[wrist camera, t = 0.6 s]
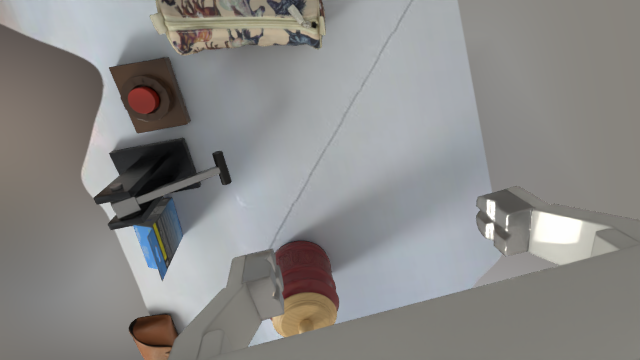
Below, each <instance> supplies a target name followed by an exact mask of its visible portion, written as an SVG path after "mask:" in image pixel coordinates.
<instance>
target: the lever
mask: <svg viewBox="0 0 640 360" xmlns="http://www.w3.org/2000/svg"><path fill="white" fill-rule="evenodd" d="M212 155H213V158H214V161H215V164H216V166H215V167H212V168H209V169H207V170H204V171H201V172H198V173H196V174H193V175H190V176H188V177H185V178H182V179H179V180H177V181H174V182H171V183H169V184H166V185H163V186H161V187H158V188H155V189H152V190H150V191H147V192H144V193H142V194H139V195H136V196H134V195H133V196H132V197H131V198H128V199H123V200H118V201H113V202H110V203H111V206H112V208H113V210H114V212H115V214H116V215H117V217H118V219H119V218H121V217H124V216H127V215H129V214H132V213H134V212H137V211H139V210H141V209H140V207H139V205H138V204H142V203H144V202H147V201H150V200H152V199H155V198H157V197H160V196H163V195H165V194H168V193H170V192H173V191H176V190H178V189H181V188H183V187H186V186H189V185H191V184H194V183H197V182H199V181H202V180H204V179H207V178H210V177H212V176H215V175H217V174H219V176H220V179H221V182H222V184H223V185H227V184H230V183H231V182H232V181H231V178H230V174H229V171H228V168H227V165H226V162H225V158H224V155H223V152H222V151H217V152H214V153H213V154H212Z"/></svg>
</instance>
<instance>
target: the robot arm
mask: <svg viewBox="0 0 640 360" xmlns="http://www.w3.org/2000/svg"><path fill="white" fill-rule="evenodd" d="M476 206H477V207H478V208H479V209H480V211H479V212H478V214H477V215H476V223H477V226H478V229H479V231H480V232H481V234H482V235H483V236H484V237H485V238H486V239H489V240H492V241H494V246H495V247H496V248H497V249H498V250H499V251H500V252H501V253H502V254H503V255H504V256H510V255H514V254H519V253H523V252H527V251H528V252H529V253H531V254H533V255H536V256H538V257H540V258H543V259H545V260H548V261H550V262H552V263H555V264H557V265H559V266H555V267H552V268H548V269H544V270H540V271H537V272H532V273H529V274H525V275H521V276H518V277H514V278H510V279H506V280H502V281H498V282H495V283H491V284H487V285H483V286H479V287H476V288H471V289H468V290H464V291H460V292H456V293H453V294H449V295H445V296H441V297H437V298H434V299H430V300H426V301H422V302H418V303H414V304H411V305H407V306H403V307H399V308H395V309H392V310H388V311H384V312H380V313H376V314H373V315H369V316H365V317H361V318H357V319H353V320H350V321H346V322H342V323H338V324H334V325H331V326H327V327H323V328H319V329H315V330H312V331H308V332H304V333H300V334H296V335H292V336H289V337H285V338H281V339H277V340H273V341H270V342H266V343H262V344H258V345H254V346H250V347H248V345H249V344H250V342H251V340H252V338H253V337H254V335H255V333H256V331H257V330H258V328H259V326H260V324H261V322H262V320H266V319H269V318H273V317H276V316H280V315H283V314H284V298H283V295H282V293H283V291H284V284H283V278H282V274H281V270H280V267H279V266H278V265H276V256H275V253H274V250H273V249H268V250H264V251H260V252H255V253H251V254H247V255H243V256H239V257H235V258H233V260H232V263H231V268H230V273H229V277H228V282H227V287H226V288H224V289H222V290H221V291H220V292H219V293H218V294H217V295H216V296H215V297H214V298H213V299H212V301H211V302H210V303H209V304H208V305H207V306H206V307H205V308H204V309H203V310H202V311H201V312H200V313H199V314H198V315H197V316H196V318H195V319H194V320H193V321H192V322H191V323H190V324H189V325H188V326H187V327H186V328H185V329H184V330H183V331H182V332H181V334H180V335H179V336H178V337H177V338H176V339H175V340H174V343H173V346H172V349H171V352H170V354H169V357H168V360H640V220H637V219H632V218H627V217H622V216H616V215H611V214H606V213H601V212H596V211H590V210H585V209H580V208H575V207H569V206H563V205H559V204H551V205H550V204H548V203H547V202H545V201H543V200H541V199H540V198H538V197H536V196H535V195H533V194H531V193H530V192H528V191H526V190H525V189H523V188H521V187H518V186H514V187H510V188H507V189H504V190H501V191H497V192H494V193H490V194H486V195H482V196H479V197H478V198H477V201H476Z"/></svg>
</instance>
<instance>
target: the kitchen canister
mask: <svg viewBox="0 0 640 360" xmlns="http://www.w3.org/2000/svg"><path fill="white" fill-rule="evenodd" d="M275 256H276V265H278V266H279V267H280V270H281V274H282V278H283V284H284V291H283V293H282V295H283V298H284V314H283V315H280V316H276V317H273V318H270V319H271V321H272V322H273V326H274V328H275V330H276V331H277V332H278V333H279V334H280V335H282V336H283V337H289V336H292V335H296V334H300V333H304V332H308V331H312V330H315V329H319V328H323V327H327V326H331V325H334V323H335V321H336V317H337V311H338V308H339V298H338V295H337V293H336V286H335V282H334V280H333V277H332V273H331V265H330V261H329V258H328V256H327V255H326V253H325V251H324V250H323V249H322V248H321V247H320V246H318V245H316V244H314V243H312V242H307V241H296V242H291V243H288V244H286V245H284V246H282V247H281V248H280V249H278V250H277V251H276V252H275Z"/></svg>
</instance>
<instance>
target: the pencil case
mask: <svg viewBox="0 0 640 360" xmlns="http://www.w3.org/2000/svg"><path fill="white" fill-rule="evenodd" d="M156 7H157V11H158V13H156V14H154V15H150V18H151V21H152V23H153V25H154V27H155V29H156V31H157V32H158V34H159V35H160V34H164V33H166V35H167V38H168V40H169V42H170V44H171V45H172V47H173V48H174V49H175V51H176V52H177V53H179V54H181V55H183V56H184V55H190V54H194V53H198V52H200V51H202V50H204V49H207V50H215V49H221V48H237V47H241V46H244V45H248V44H249V45H259V46H270V45H292V46H297V45H304V44H307V45H310V46H311V47H313V48H315V49H320V48H321V47H322V35H326V29H325V13H324V7H323V3H322V0H156Z"/></svg>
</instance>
